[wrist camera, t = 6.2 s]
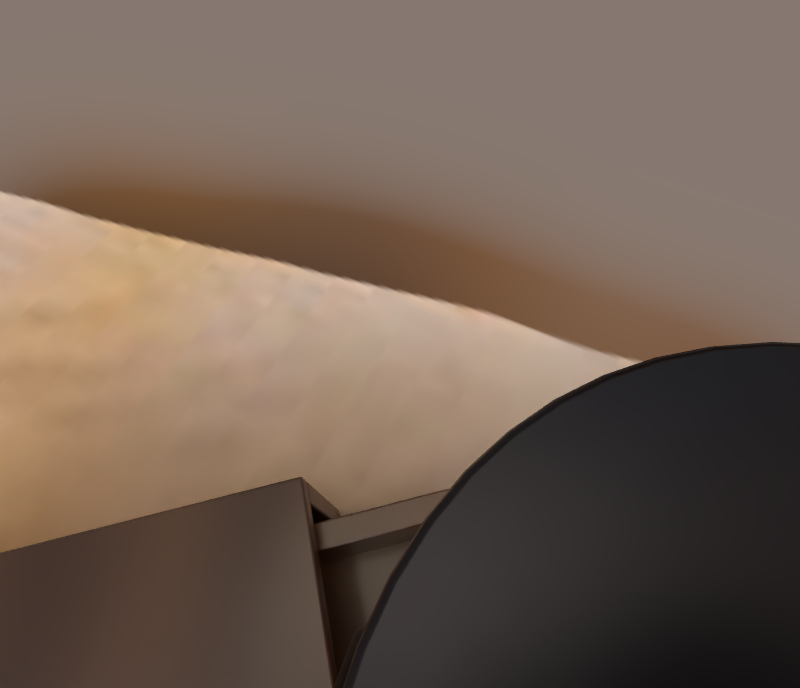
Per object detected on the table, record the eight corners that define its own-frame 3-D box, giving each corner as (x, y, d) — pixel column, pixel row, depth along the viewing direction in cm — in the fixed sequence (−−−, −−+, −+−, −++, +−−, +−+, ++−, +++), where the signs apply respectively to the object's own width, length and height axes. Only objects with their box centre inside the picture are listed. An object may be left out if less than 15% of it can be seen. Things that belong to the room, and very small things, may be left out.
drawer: (718, 423, 20) (792, 378, 16) (884, 734, 16) (1046, 783, 12) (226, 550, 19) (169, 537, 15) (258, 920, 15) (190, 1046, 11)
